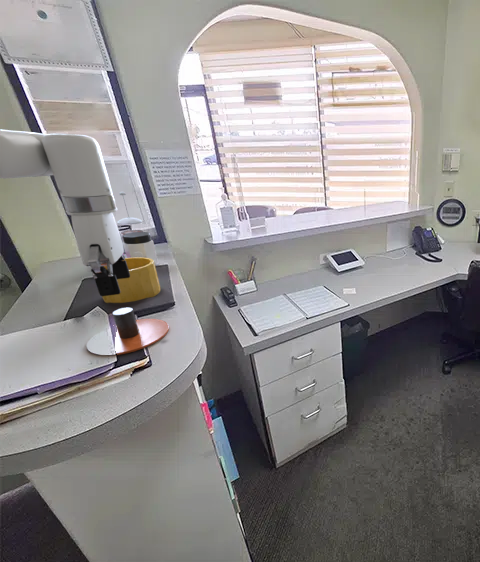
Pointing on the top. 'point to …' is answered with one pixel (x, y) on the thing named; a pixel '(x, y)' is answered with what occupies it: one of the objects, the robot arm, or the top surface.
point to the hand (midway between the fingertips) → (116, 286)
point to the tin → (136, 281)
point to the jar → (139, 245)
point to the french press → (128, 222)
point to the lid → (136, 331)
